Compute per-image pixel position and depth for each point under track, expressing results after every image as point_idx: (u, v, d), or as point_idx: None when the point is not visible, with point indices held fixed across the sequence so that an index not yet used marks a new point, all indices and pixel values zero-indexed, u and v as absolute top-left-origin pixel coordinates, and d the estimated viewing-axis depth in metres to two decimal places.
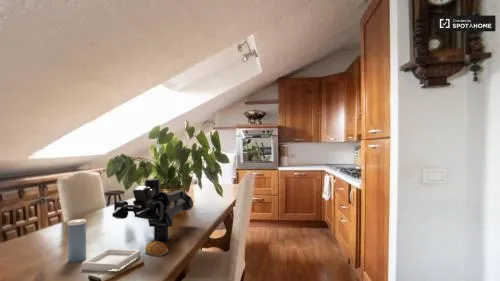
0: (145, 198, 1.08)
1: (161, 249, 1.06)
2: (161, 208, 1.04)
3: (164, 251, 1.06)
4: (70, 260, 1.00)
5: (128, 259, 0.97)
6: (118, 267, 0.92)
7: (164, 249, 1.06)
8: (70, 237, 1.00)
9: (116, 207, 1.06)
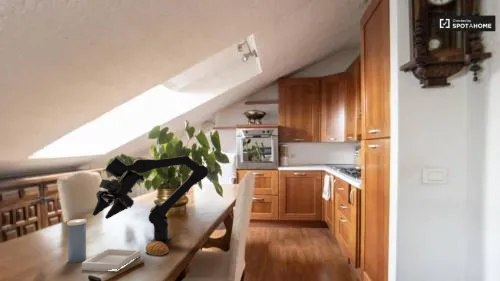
0: (112, 189, 1.12)
1: (161, 249, 1.06)
2: (126, 200, 1.08)
3: (164, 251, 1.06)
4: (70, 260, 1.00)
5: (128, 259, 0.97)
6: (118, 267, 0.92)
7: (165, 249, 1.06)
8: (70, 237, 1.00)
9: None
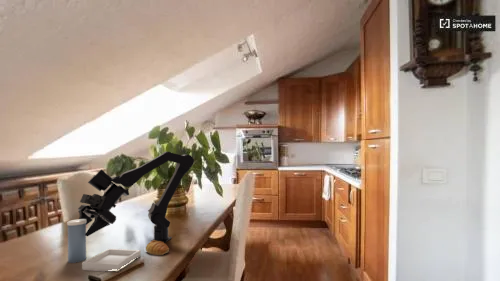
0: (94, 205, 1.06)
1: (162, 249, 1.06)
2: (107, 216, 1.03)
3: (165, 250, 1.06)
4: (70, 260, 1.00)
5: (128, 259, 0.97)
6: (118, 267, 0.92)
7: (165, 249, 1.07)
8: (70, 237, 1.00)
9: None
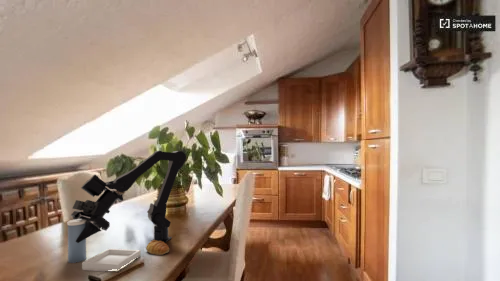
0: (87, 211, 1.04)
1: (163, 248, 1.06)
2: (100, 223, 1.01)
3: (166, 250, 1.06)
4: (70, 260, 1.00)
5: (128, 259, 0.97)
6: (118, 267, 0.92)
7: (166, 248, 1.07)
8: (70, 237, 1.00)
9: None
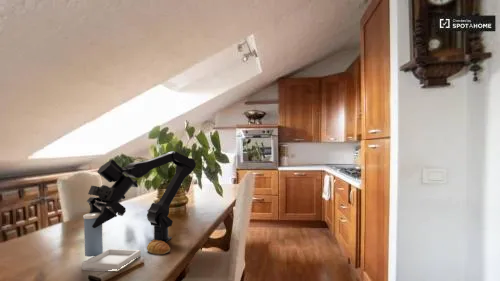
0: (102, 196, 1.03)
1: (163, 248, 1.07)
2: (116, 208, 0.99)
3: (166, 250, 1.07)
4: (87, 254, 0.99)
5: (128, 259, 0.97)
6: (118, 267, 0.92)
7: (167, 248, 1.07)
8: (87, 230, 0.99)
9: None
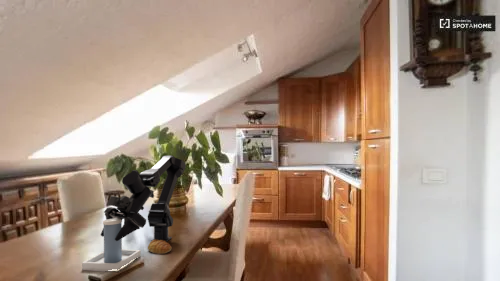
0: (122, 207, 1.00)
1: (165, 247, 1.08)
2: (137, 219, 0.97)
3: (168, 249, 1.08)
4: (106, 261, 0.96)
5: (128, 259, 0.97)
6: (118, 267, 0.92)
7: (168, 247, 1.08)
8: (107, 236, 0.97)
9: None
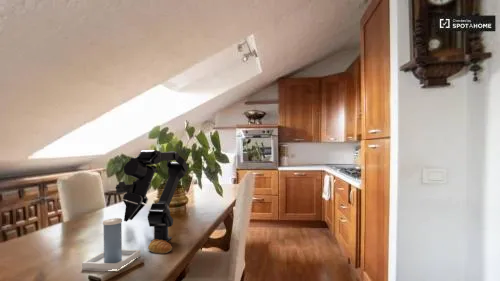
0: (126, 191, 1.08)
1: (166, 247, 1.08)
2: (129, 198, 1.01)
3: (169, 249, 1.08)
4: (106, 261, 0.96)
5: (128, 259, 0.97)
6: (118, 267, 0.92)
7: (169, 247, 1.09)
8: (107, 237, 0.97)
9: None
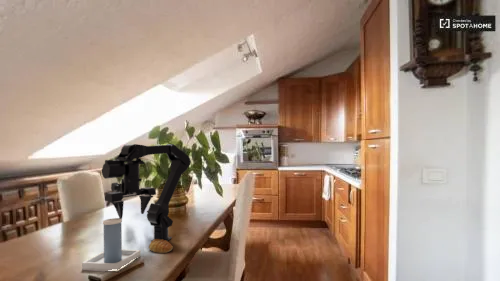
0: None
1: (166, 247, 1.08)
2: (107, 198, 1.05)
3: (169, 248, 1.09)
4: (106, 261, 0.96)
5: (128, 259, 0.97)
6: (118, 267, 0.92)
7: (170, 246, 1.09)
8: (107, 236, 0.97)
9: None
